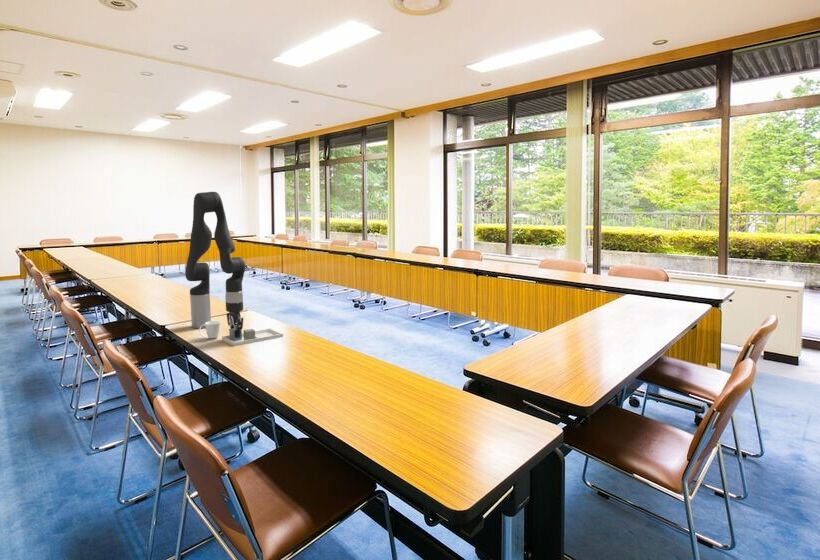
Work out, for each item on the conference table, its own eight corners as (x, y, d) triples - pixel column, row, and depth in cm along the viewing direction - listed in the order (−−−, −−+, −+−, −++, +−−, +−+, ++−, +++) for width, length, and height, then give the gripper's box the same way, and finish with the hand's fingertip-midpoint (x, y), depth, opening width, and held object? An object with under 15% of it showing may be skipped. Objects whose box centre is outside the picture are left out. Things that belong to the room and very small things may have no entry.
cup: (216, 341, 214) (216, 324, 213) (196, 340, 215) (195, 323, 214) (224, 337, 221) (223, 321, 220) (204, 336, 222) (203, 320, 221)
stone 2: (243, 340, 215) (243, 330, 214) (252, 339, 217) (252, 328, 217) (246, 342, 212) (246, 331, 211) (255, 341, 214) (254, 330, 213)
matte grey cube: (229, 339, 216) (229, 328, 215) (237, 337, 219) (237, 327, 218) (233, 341, 214) (233, 330, 213) (241, 339, 217) (241, 329, 216)
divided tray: (222, 340, 215) (221, 336, 215) (270, 332, 232) (270, 328, 231) (233, 347, 206) (233, 342, 206) (282, 337, 222) (282, 333, 222)
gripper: (220, 298, 216) (221, 334, 219) (232, 304, 206) (233, 341, 208) (235, 297, 221) (237, 331, 224) (248, 302, 211) (249, 338, 214)
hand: (235, 336), depth 216 cm, fingers closed on matte grey cube, 4 cm apart
